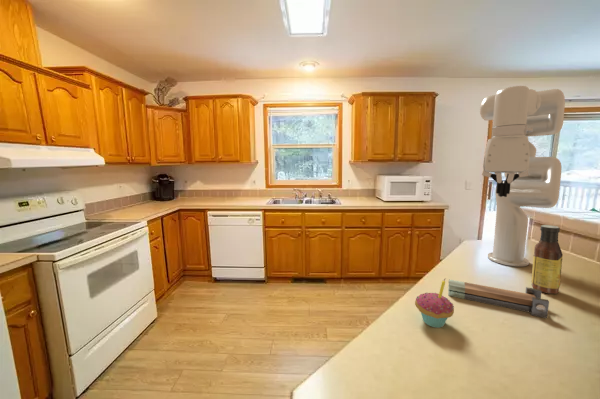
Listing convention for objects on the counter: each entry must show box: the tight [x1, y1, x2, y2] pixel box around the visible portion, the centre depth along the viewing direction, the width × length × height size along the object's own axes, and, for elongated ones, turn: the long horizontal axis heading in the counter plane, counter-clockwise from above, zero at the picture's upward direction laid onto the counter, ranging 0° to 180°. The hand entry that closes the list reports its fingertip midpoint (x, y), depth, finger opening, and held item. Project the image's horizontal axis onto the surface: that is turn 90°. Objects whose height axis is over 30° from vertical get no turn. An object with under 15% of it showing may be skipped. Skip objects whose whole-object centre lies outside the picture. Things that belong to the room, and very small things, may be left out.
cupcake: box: [414, 278, 455, 329], centre depth 63 cm, size 9×8×12 cm
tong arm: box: [448, 279, 536, 306], centre depth 72 cm, size 4×20×2 cm, turn 60°
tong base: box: [447, 286, 550, 319], centre depth 72 cm, size 8×22×4 cm, turn 60°
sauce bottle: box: [530, 224, 564, 295], centre depth 76 cm, size 6×6×20 cm
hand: (502, 196), depth 76 cm, fingers closed
